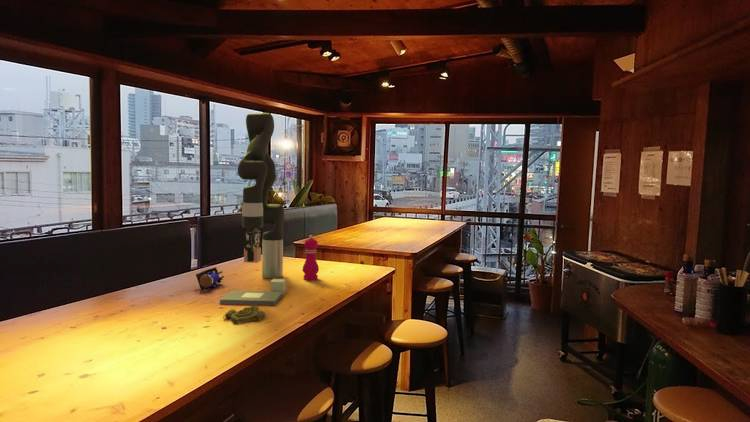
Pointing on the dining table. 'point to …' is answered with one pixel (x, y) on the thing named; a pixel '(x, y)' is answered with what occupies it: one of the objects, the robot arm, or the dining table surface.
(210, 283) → the character figurine
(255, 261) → the terracotta block
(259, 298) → the base plate
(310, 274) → the pepper mill
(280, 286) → the sage block
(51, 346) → the dining table surface
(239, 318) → the spaceship toy
